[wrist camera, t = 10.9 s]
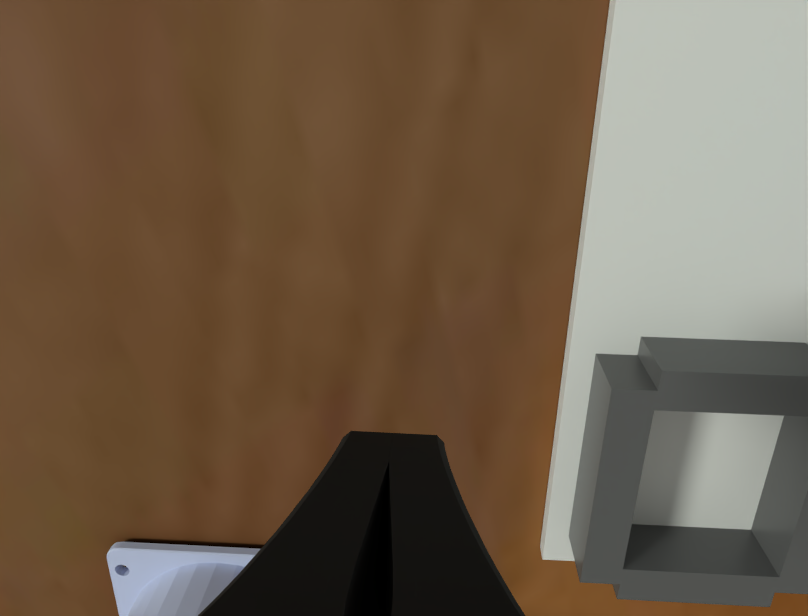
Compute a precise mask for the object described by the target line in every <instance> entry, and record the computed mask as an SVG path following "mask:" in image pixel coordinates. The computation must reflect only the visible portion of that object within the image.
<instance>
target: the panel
mask: <svg viewBox="0 0 808 616" xmlns="http://www.w3.org/2000/svg"><path fill="white" fill-rule="evenodd" d="M540 549H541V554H542V559H544V560H564V561H575V564H576V568H577V572H578V576H579V580H580V582H584V583H604V584H613V587H614V591H615V594H616V597H617V599H628V600H647V601H666V602H685V603H704V604H723V605H742V606H761V607H770V605H771V602H772V599H773V596H774V593H775V592H778V593H797V594H808V0H610V5H609V13H608V20H607V28H606V36H605V44H604V52H603V59H602V67H601V75H600V83H599V91H598V98H597V106H596V114H595V122H594V130H593V137H592V145H591V153H590V161H589V169H588V177H587V184H586V192H585V200H584V208H583V216H582V223H581V231H580V239H579V247H578V255H577V262H576V270H575V278H574V286H573V294H572V301H571V309H570V317H569V325H568V333H567V340H566V348H565V356H564V364H563V372H562V379H561V387H560V395H559V403H558V411H557V418H556V426H555V434H554V442H553V450H552V458H551V465H550V473H549V481H548V489H547V497H546V504H545V512H544V520H543V528H542V536H541V543H540Z"/></svg>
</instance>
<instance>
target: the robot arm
mask: <svg viewBox="0 0 808 616" xmlns="http://www.w3.org/2000/svg"><path fill="white" fill-rule="evenodd" d="M107 561H108V566H109V571H110V575H111V580H112V584H113V589H114V594H115V598H116V603H117V608H118V612H119V616H385V615H386V616H525V615H524V613H523V612H522V610H521V608H520V607H519V605H518V603H517V602H516V600H515V599H514V597H513V595H512V594H511V592H510V590H509V588H508V587H507V585H506V583H505V582H504V580H503V578H502V576H501V575H500V573H499V571H498V570H497V568H496V566H495V564H494V562H493V561H492V559H491V557H490V555H489V553H488V551H487V549H486V548H485V546H484V544H483V542H482V540H481V537H480V535H479V533H478V531H477V529H476V527H475V525H474V523H473V521H472V519H471V517H470V515H469V513H468V511H467V509H466V506H465V504H464V502H463V500H462V497H461V495H460V492H459V490H458V487H457V485H456V482H455V480H454V477H453V474H452V471H451V469H450V466H449V462H448V459H447V455H446V451H445V446H444V442H443V441H442V440H441V439H440V438H439V437H438V436H437V435H420V434H401V433H381V432H361V431H351V432H349V433H348V434H347V435H346V436H344V437H343V439H342V440H341V442H340V444H339V446H338V447H337V449H336V451H335V452H334V454H333V455H332V457H331V459H330V460H329V462H328V463H327V465H326V466H325V468H324V469H323V471H322V472H321V473H320V475H319V476H318V478H317V479H316V480H315V482H314V483H313V485H312V486H311V487H310V489H309V490H308V492H307V493H306V494H305V495H304V497H303V498H302V499H301V501H300V502H299V503H298V504H297V506H296V507H295V508H294V510H293V511H292V512H291V513H290V515H289V516H288V517H287V519H286V520H285V521H284V522H283V524H282V525H281V526H280V527H279V529H278V530H277V531H276V532H275V533H274V535H273V536H272V537H271V538H270V539H269V540H268V541H267V542H266V544H265V545H264V546H263V547H262V548H261V549H257V548H237V547H217V546H198V545H178V544H158V543H139V542H116V543H115V544H113V545H112V547H111V548H110V550H109V551H108V553H107ZM123 565H124V566H126V567H124V566H123Z"/></svg>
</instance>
